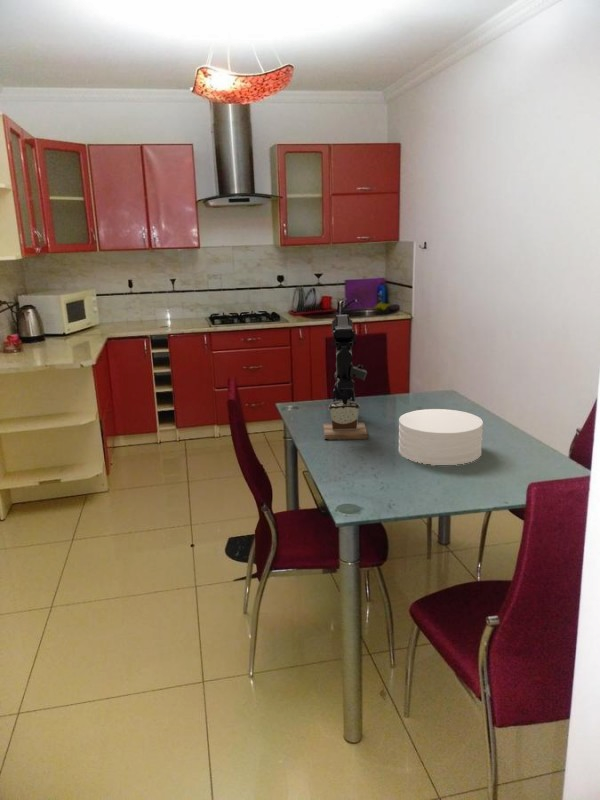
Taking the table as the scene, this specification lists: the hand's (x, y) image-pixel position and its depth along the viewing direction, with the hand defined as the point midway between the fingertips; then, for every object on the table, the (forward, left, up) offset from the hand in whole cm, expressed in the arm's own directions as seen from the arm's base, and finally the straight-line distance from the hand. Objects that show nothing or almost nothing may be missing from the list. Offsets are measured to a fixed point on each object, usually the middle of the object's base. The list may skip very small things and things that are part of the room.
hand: (344, 401), depth 225 cm
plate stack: (+22, +31, -13) cm, 41 cm away
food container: (-2, 0, -11) cm, 11 cm away
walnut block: (0, 0, -13) cm, 13 cm away
